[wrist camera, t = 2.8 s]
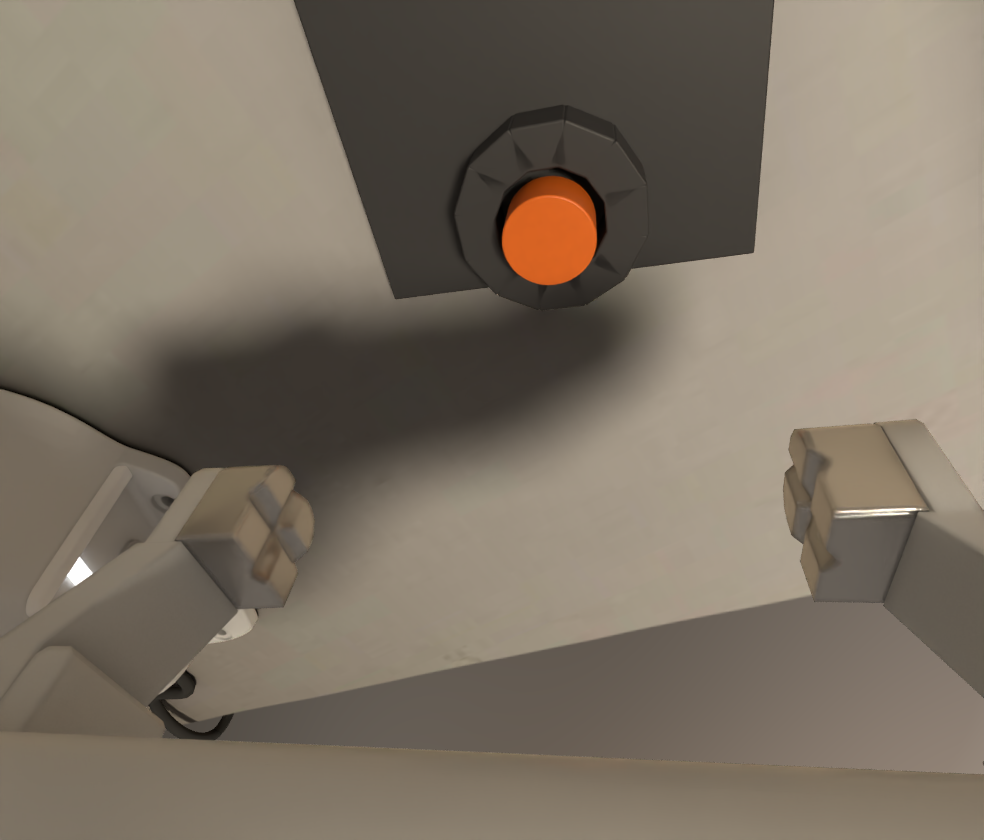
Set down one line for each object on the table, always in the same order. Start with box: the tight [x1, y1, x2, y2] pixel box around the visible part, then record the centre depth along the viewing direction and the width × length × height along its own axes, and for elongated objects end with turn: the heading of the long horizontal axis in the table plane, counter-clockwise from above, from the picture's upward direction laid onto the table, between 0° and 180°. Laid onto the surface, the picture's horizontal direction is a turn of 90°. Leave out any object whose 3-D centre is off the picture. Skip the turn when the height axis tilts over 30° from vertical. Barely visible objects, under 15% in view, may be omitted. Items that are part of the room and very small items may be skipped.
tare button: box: [502, 176, 597, 285], centre depth 17 cm, size 3×3×2 cm
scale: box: [294, 0, 774, 310], centre depth 16 cm, size 14×12×3 cm
